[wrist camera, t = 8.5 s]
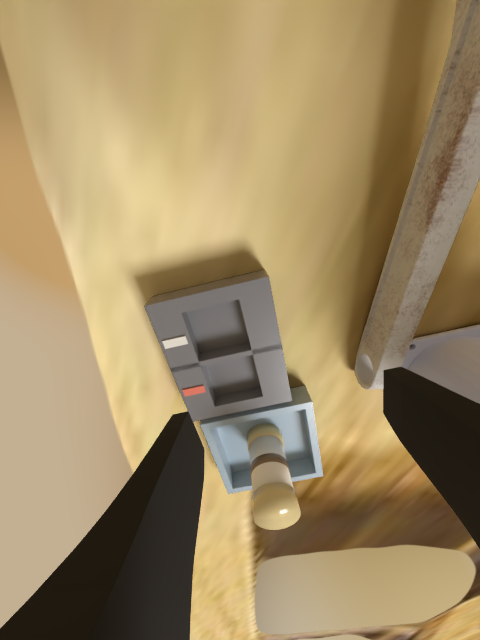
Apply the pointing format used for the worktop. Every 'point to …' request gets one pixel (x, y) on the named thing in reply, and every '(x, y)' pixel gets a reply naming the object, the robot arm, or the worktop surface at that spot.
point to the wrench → (428, 206)
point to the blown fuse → (271, 479)
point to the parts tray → (289, 417)
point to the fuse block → (223, 345)
